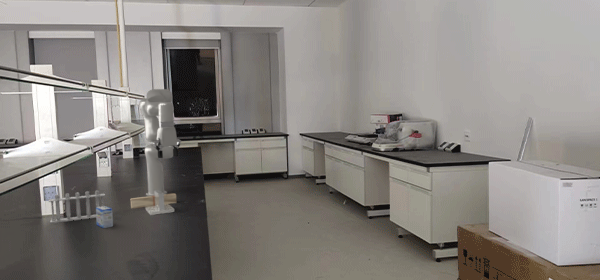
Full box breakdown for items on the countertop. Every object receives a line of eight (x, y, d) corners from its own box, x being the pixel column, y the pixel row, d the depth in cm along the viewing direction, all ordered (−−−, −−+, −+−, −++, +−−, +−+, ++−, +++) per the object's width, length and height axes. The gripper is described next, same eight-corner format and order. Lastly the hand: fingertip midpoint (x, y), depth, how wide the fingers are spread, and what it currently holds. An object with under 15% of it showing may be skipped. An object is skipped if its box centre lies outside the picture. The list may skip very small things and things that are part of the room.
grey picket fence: (49, 223, 210) (48, 196, 209) (50, 221, 214) (48, 194, 213) (106, 216, 221) (105, 190, 220) (106, 214, 225) (104, 189, 224)
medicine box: (96, 225, 204) (95, 207, 204) (106, 223, 208) (104, 205, 207) (103, 228, 199) (102, 209, 198) (113, 226, 202) (112, 208, 201)
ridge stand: (145, 209, 234) (144, 191, 233) (168, 206, 240) (167, 188, 239) (150, 215, 222) (149, 195, 221) (174, 211, 227) (173, 192, 227)
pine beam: (130, 207, 241) (130, 198, 240) (174, 201, 252) (174, 193, 252) (132, 209, 237) (131, 199, 236) (176, 203, 249) (176, 194, 248)
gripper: (175, 124, 243) (176, 155, 245) (148, 126, 229) (150, 158, 231) (184, 124, 239) (185, 155, 240) (157, 126, 225) (158, 159, 226)
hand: (168, 157), depth 235 cm, fingers open, 9 cm apart
